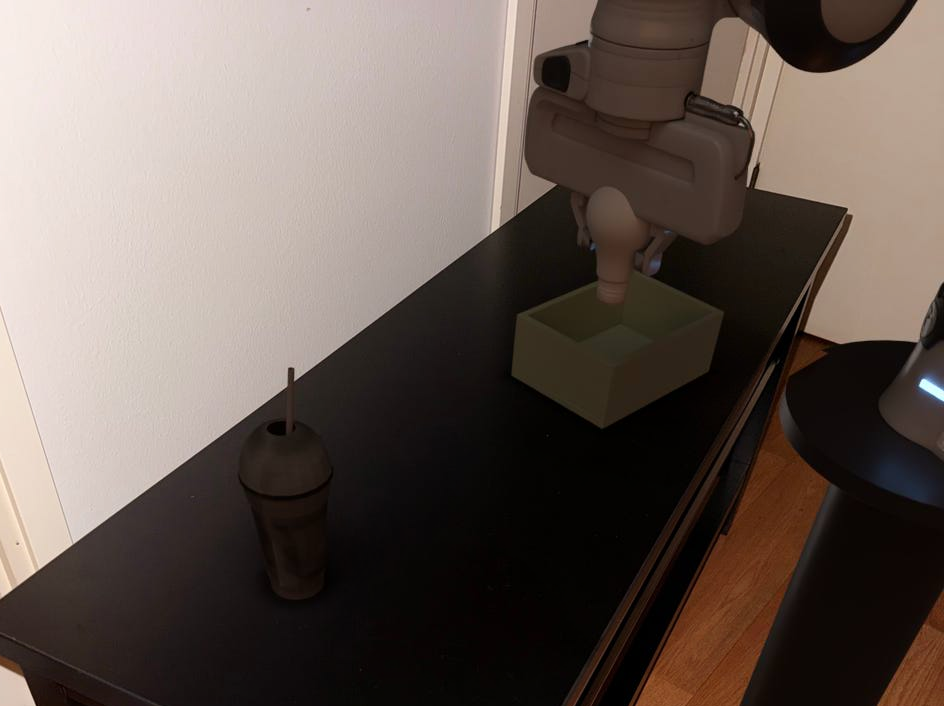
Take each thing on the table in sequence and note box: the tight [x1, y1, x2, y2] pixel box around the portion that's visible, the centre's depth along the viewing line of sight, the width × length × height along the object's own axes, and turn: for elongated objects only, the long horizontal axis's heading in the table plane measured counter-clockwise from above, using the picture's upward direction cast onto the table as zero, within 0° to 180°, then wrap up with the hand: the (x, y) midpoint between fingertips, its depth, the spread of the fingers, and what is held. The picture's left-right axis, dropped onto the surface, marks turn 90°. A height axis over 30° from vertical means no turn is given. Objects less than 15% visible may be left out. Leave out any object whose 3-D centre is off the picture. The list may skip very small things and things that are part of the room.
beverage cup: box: [237, 366, 334, 601], centre depth 73 cm, size 7×7×20 cm
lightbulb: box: [586, 187, 653, 307], centre depth 80 cm, size 6×6×11 cm
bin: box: [511, 270, 725, 430], centre depth 104 cm, size 19×14×7 cm
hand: (616, 259), depth 81 cm, fingers closed on lightbulb, 5 cm apart
